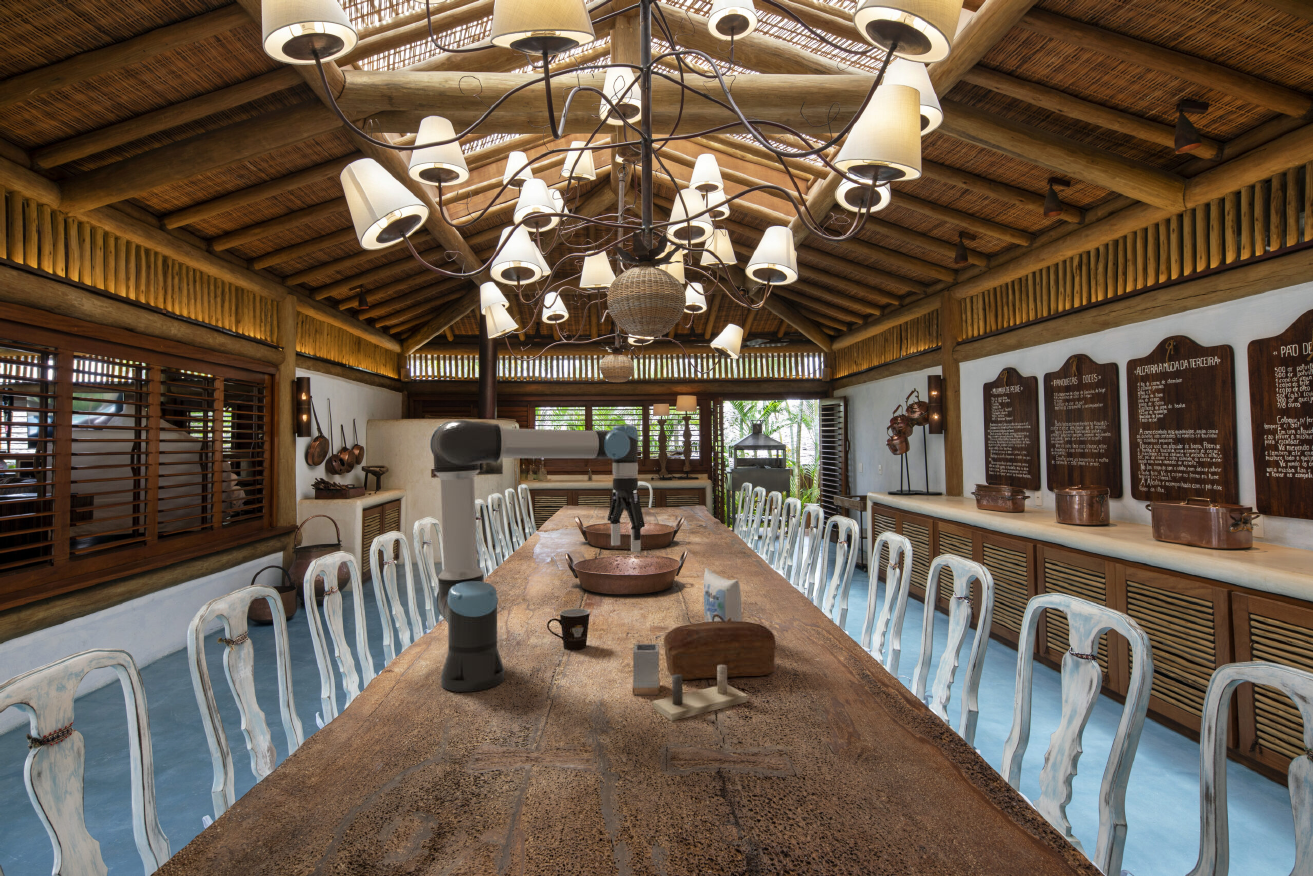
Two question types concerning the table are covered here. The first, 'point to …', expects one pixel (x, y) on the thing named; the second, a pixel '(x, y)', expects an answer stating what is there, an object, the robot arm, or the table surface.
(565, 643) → the coffee mug
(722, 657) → the bread
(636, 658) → the sleeve
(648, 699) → the table surface
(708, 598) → the pouch
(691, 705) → the pin board
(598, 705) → the table surface
